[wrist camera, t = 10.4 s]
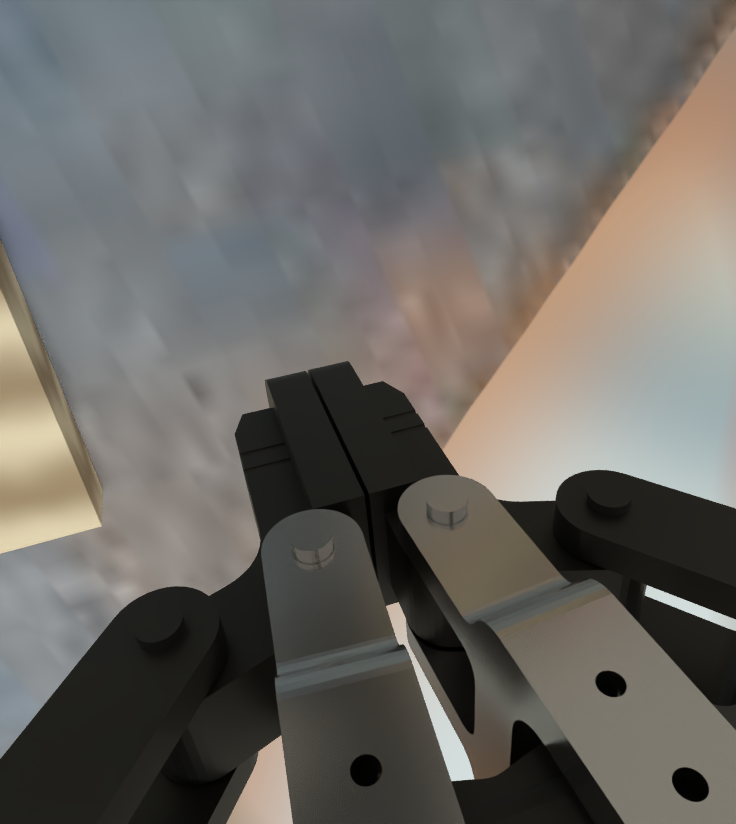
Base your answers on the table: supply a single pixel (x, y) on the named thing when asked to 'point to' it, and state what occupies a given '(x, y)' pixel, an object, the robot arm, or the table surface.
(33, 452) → the deck
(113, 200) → the table surface
